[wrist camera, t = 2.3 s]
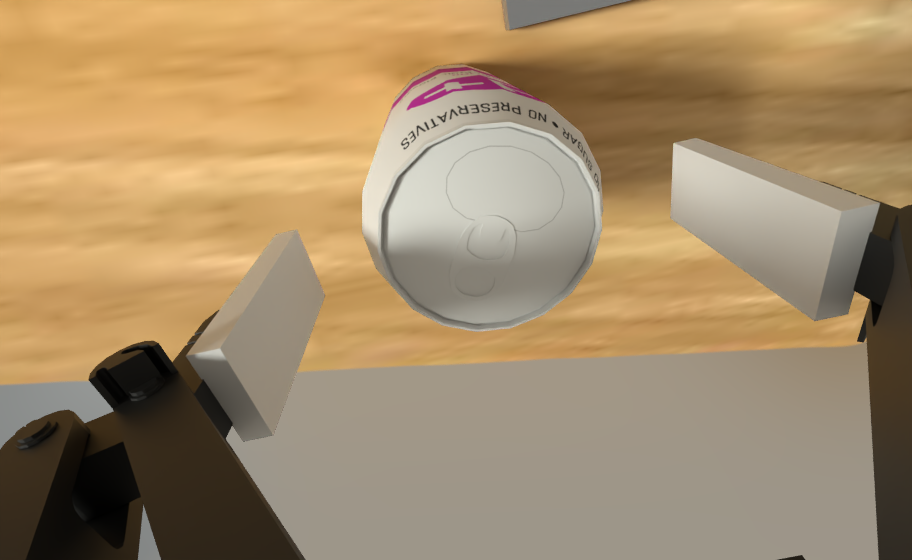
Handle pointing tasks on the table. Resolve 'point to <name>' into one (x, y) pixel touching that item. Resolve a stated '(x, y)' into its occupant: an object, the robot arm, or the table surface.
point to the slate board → (546, 10)
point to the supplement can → (480, 201)
